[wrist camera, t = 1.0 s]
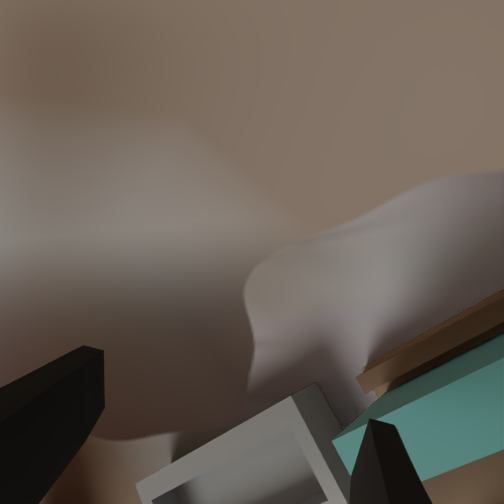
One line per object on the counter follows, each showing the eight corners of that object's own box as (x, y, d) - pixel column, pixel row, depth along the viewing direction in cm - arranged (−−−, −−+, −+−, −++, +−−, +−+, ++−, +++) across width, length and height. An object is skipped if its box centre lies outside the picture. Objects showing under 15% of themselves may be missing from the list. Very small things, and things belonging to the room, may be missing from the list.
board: (626, 335, 15) (697, 373, 9) (411, 432, 19) (365, 503, 13) (586, 288, 16) (629, 296, 10) (386, 391, 20) (331, 440, 14)
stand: (377, 492, 21) (357, 523, 18) (208, 559, 26) (174, 591, 23) (315, 382, 22) (290, 395, 20) (170, 464, 27) (135, 483, 25)
